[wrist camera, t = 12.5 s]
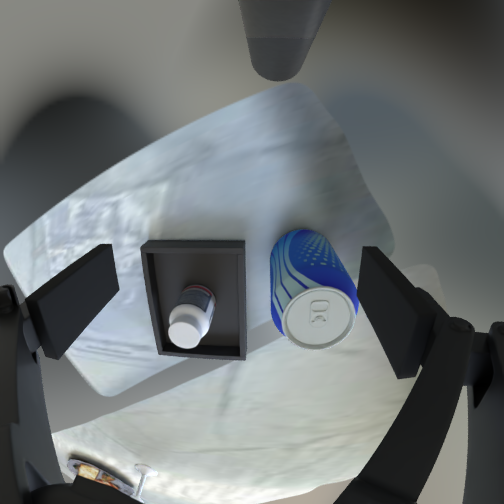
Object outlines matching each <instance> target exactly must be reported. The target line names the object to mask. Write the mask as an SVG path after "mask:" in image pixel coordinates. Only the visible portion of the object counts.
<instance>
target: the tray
mask: <svg viewBox="0 0 504 504" xmlns="http://www.w3.org/2000/svg"><path fill="white" fill-rule="evenodd" d="M140 250H141V258H142V266H143V273H144V279H145V286H146V292H147V298H148V304H149V310H150V315H151V321H152V326H153V331H154V336H155V341H156V345H157V350H158V354H159V355H167V356H178V357H190V358H204V359H222V360H246V351H247V329H246V271H245V241H215V240H148V241H147V242H146V243H145V244H143V245H142V246H141V247H140ZM191 285H201V286H204V287H206V288H208V289H209V290H210V291H211V292H212V293H213V295H214V297H215V300H216V306H215V310H214V314H213V317H212V320H211V324H210V327H209V330H208V332H207V333H206V334H205V335H204V336H203V337H202V338H201V339H200V342H199V343H198V345H196V346H195V347H193V348H188V349H186V348H181V347H179V346H177V345H175V344H174V343H173V342H172V341H171V339H170V338H169V334H168V330H169V327H170V322H169V318H170V314H171V311H172V310H173V308H174V306H175V304H176V302H177V300H178V298H179V297H180V295H181V293H182V291H183V290H184V289H185V288H186V287H188V286H191Z"/></svg>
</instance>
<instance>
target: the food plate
mask: <svg viewBox="0 0 504 504" xmlns="http://www.w3.org/2000/svg"><path fill="white" fill-rule="evenodd" d="M67 466H68V468H69V469H70V470H71V471H72V472H73V473H74V474H75V475H80V476H83V477H85V478H88V479H91V480H94V481H97V482H100V483H103V484H106V485H109V486H112V487H114V488H116V489H117V490H119V491H121V492H123V493H125V494H126V495H128V496H130V495H132V494H133V493H134V490H133V489H132V488H131V487H129V486H128V485H126V484H125V483H123V482H122V481H121V480H119V479H117V478H115V477H114V476H113V475H111V474H109V473H108V472H105V471H104V470H102V469H100V468H97V467H96V466H93V465H91V464H89V463H87V462H86V463H85V462H82V461H79V460H74V459H70V460H69V462H68V464H67Z"/></svg>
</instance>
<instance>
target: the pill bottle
mask: <svg viewBox="0 0 504 504" xmlns="http://www.w3.org/2000/svg"><path fill="white" fill-rule="evenodd" d="M215 306H216V300H215V297H214V295H213V293H212V292H211V291H210V290H209V289H208V288H206V287H204V286H201V285H191V286H188V287H186V288H185V289H184V290H183V291H182V293H181V295H180V297H179V298H178V300H177V302H176V304H175V306H174V308H173V310H172V311H171V314H170V318H169V322H170V327H169V330H168V334H169V338H170V339H171V341H172V342H173V343H174V344H175V345H177V346H179V347H181V348H186V349H188V348H193V347H195V346H196V345H198V343H199V342H200V339H201V338H202V337H203V336H204V335H205V334H206V333H207V332H208V330H209V327H210V324H211V320H212V317H213V314H214V310H215Z"/></svg>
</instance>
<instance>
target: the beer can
mask: <svg viewBox="0 0 504 504" xmlns="http://www.w3.org/2000/svg"><path fill="white" fill-rule="evenodd" d="M270 283H271V314H272V318H273V321H274V323H275V325H276V327H277V328H278V330H279V331H280V332H281V333H282V334H283V335H284V336H285V337H287V339H288V340H289V341H290V342H291V343H293V344H294V345H295V346H297V347H299V348H302V349H306V350H324V349H328V348H330V347H333V346H335V345H337V344H338V343H340V342H341V341H342V340H344V339H345V338H346V337H347V336H348V334H349V333H350V331H351V330H352V328H353V325H354V322H355V317H356V315H357V311H358V306H359V300H358V298H357V296H356V294H357V289H356V287H355V285H354V283H353V281H352V280H351V278H350V276H349V274H348V273H347V271H346V269H345V268H344V266H343V264H342V263H341V261H340V259H339V258H338V256H337V254H336V253H335V251H334V249H333V248H332V246H331V244H330V243H329V241H328V240H327V239H326V238H325V237H324V236H322V235H321V234H319V233H317V232H315V231H312V230H307V229H300V230H295V231H292V232H289V233H287V234H285V235H284V236H283V237H281V238H280V239H279V240H278V241H277V243H276V244H275V246H274V247H273V250H272V252H271V257H270Z"/></svg>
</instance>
